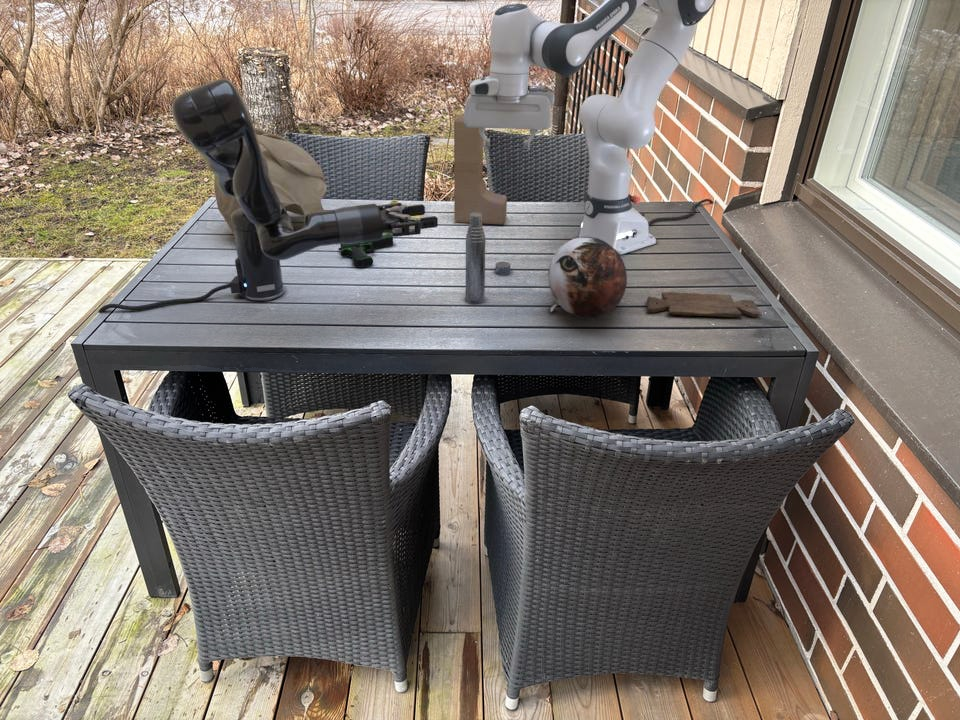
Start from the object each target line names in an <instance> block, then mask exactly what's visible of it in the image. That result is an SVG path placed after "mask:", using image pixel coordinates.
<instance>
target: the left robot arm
mask: <svg viewBox="0 0 960 720" xmlns="http://www.w3.org/2000/svg"><path fill="white" fill-rule="evenodd" d="M171 111H172V116H173V120H174V122H175V125H176V126H177V128H178V130H179V132H180V133H181V135H182V137H183V138H184V139H185V141H187V143H188V144H189V145H190V146H191V147H192V148H193V149H194V150H195V151H196V152H197V153H199V155H200V157H201V159H202V160H203V162H204V163H205V164H206V166H207V167H208V168H209V169H210V171H211V172H212V174H213V175H214V179H215V178H216V180H217V183H218V185H219V187H220V189H221V191H222V192H223V193H224V194H225V195H227V196H232V197H236V199H237V201H238V202H239V204H240V206H241V208H239V209H237V210H235V211H234V212H233V213H232V215H231V222H232V227H233V232H232V233H234V234H233V238H234V245H235V250H236V255H237V257H236V258H235V260H234V264H235V271H236V275H235V276H234V277H233V278H232V280H230V282H229V283H226V284H222V285H220V286H219V285H218V286H216V287H214V288H212V289H210V290H209V291H208V292H207V293H205V294H204V295H201V296H197V297H189V298H174V299H167V300H161V301H156V302H153V303H147V304H142V305H141V304H140V305H126V304H119V303H108V304H105V305H103V306H101V307H100V308H99V309H98V311H97V313H98V314H102V313H104V312H105V311H107V310H109V309H119V310H124V311H141V310H148V309H152V308H157V307H162V306H167V305H172V304H185V303H186V304H188V303H197V302H201V301H205V300H207V299H209V298H210V297H211V296H212V295H214V294H215V293H217V292H220V291H223V290H227V289H230V292H231V294H240V298H242V299H247V300H248V301H251V302H252V301H253V302H266V301H273V300H275V299H277V298H279V297H281V296H283V294H285V286H284V281H283V273H282V267H281V261H286V260H289V259H291V258H292V259H293V258H294V257H297V256H299V255H301V254H304V253H306V252H310V251H311V250H314V249H316V248H319V247H326V246H334V245H340V244H351V243H359V242H367V241H374V240H380V239H381V238H382V236H383V235H384V233H385V232H390V233H391V235H392V236H393V238H397V237H405V236H415V235H421V234H422V230H425V229H432V228H433V229H434V228H437V227H438V226H439V219H438V217H437V216H436V215H432V216H424V215H425V214H426V206H425V205H424V204H423V203H422V204H414V205H413V204H412V205H407V204H402V202H398V203H393V204H391V203H388V204H380V205H377V204H376V203H368V204H367V203H366V204H359V205H351V206H343V207H338V208H335V209H326V210H324V211H317V212H311V213H308V214H307V215H306V216H305V220H304V219H303V226H304V227H301V228H300V229H297V230H294V227H293V223H292V220H291V217H290V215H289V213H288V211H286V209H285V207H284V206H283V205H282V203H281V202H280V200H279V197H278V195H277V193H276V191H275V189H274V187H273V185H272V182H271V180H270V178H269V172H268V165H267V161H266V158H265V156H264V155H263V154H262V151H261V148H260V144H259V141H258V138H257V135H256V132H255V129H254V127H255V126H254V123H253V120H252V117H251V113H250V112H249V109H248V107H247V105H246V102H245V101H244V98H243V97H242V95H241V93H240V91H239V90H238V89H237V87H236V86H235V84H234V83H233V82H232V81H231V80H229V79H228V78H219V79H216V80H213V81H210V82H207V83H204V84H201V85H199V86H196V87H195V88H192V89H189V90H187V91H184V92H182V93H180V94H178V95H177V96H176V97H175V98H174V99H173V100H172V105H171ZM407 206H408V207H407ZM419 215H422V217H421V218H412V217H411V216H419ZM423 216H424V217H423Z"/></svg>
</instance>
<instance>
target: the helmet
mask: <svg viewBox="0 0 960 720" xmlns="http://www.w3.org/2000/svg"><path fill="white" fill-rule="evenodd" d="M254 129H255V132H256V135H257V138H258V141H259V144H260V148H261V151H262V154H263V155H264V156H265V158H266V161H267V165H268V172H269V178H270V180H271V182H272V185H273V187H274V189H275V191H276V193H277V195H278V197H279V200H280V202H281V203H282V205H283V206H284V207H285V209H286V211H287V212H289V213H293V214H295V215H298V216H303V221H304V220H305V216H306V215H307V214H308V213H311V212H317V211H325V209H324V207H323V204H322V199H323V198H324V196H325V195H326V193H327V190H328V185H327V182H326V180H325V175H324V173H323V172H324V171H323V169H322V167H321V166H320V165H319V164H318V163H317V161H316V160H315V159H314V157H313V156H312V155H311V154H310V153H309V152H308V151H306V150H305V149H304V148H302V147H301V146H299V145H298V144H296V143H293V142H291V141H290V140H289V139H287V138H285V137H283V136H281V135H277V134H274V133H270V132H268V131H267V130H264V129H261V128H258V127H255V126H254ZM213 187H214V195H215V200H216V206H217V210H218V211H219V213H220V214H221V216H222V218H223V219H224V220H225V222H226V224H227V226H228V227H229V229H230V230H231V232H232V233H233V227H232V222H231V215H232V213H233V212H234V211H235V210H237V209H239V208H241V206H240V204H239V202H238V201H237V199H236V197H232V196H227V195H225V194H224V193H223V192H222V191H221V189H220V187H219V185H218V183H217V180H216V178H215V177H214V180H213ZM233 235H234V233H233Z"/></svg>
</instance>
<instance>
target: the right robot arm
mask: <svg viewBox="0 0 960 720" xmlns="http://www.w3.org/2000/svg"><path fill="white" fill-rule="evenodd" d="M715 2H716V0H597V3H598V7H596V8H595V9H594V10H593V11H592V12H591V13H590V14H589V15H588V16H586V17H584V19H583V20H581V21H578V22H574V23H563V22H562V23H561V22H555V21H551V20H547V19H546V18H543V17H542V16H540V15H538V14H537V13H535V12H534V11H533V10H531V9H530V7H529V6H528V5H527V4H524V3H514V4H506V5H503V6H500V7H499V8H497V9H496V10H495V11H494V13H493V16H492V19H491V26H490V35H489V36H490V37H489V53H490V57H491V61H490V67H489V71H488V72H489V73H488V74H489V75H488V76H484V77H480V78H477V79H474V80H472V81H471V82H470V84H469V94H468V96H467V98H466V101H465V105H464V109H463V110H464V111H463V114H464V124H465V125H466V127H474V128H479V134H480V135H481V137H482V139H483V148H491V138H490V137H487V136H486V134H485V133H486V129H507V130H508V129H509V130H511V129H512V130H529V136H528V138H527V139H524V140H523V149H526V150H530V149H531V142H532V141H533V139H534V137H535V136H536V131H537V130H541V131H542V130H543V131H547V130H549V129H550V128H552V120H553V119H552V118H553V117H552V107H553V106H554V104H555V97H556V95H555V92H554V90H553V89H552V88H549V86H546V85H542V86H539V85H529V83H530V81H529V80H530V67H531V66H535V67H539V68H540V69H545V70H548V71H552V72H554V73H556V74H558V75H561V76H565V77H566V76H572V75H574V74H576V73H578V72H580V70H581V69H583V68H584V66H585V65H586V64H587V62H588V61H589V59H590V58H591V56H592V55H593V53H594V52H595V51H596V50H597V49H598V48H599V47H600V46H601V45H602V44H603V43H604V42H605V41H607V40H608V39H609V38H610V37H611V36H613V34H614V33H615V32H617V31H618V30H619V29H620V28H621V27H622V26H623V25H624V24H626V22H628V20H629V19H631V17H632V16H633V15H634V13H635V11H636V9H638V8H639V7H641V6H642V5H644V6H646V7H647V8H650V7H651V8H652V9H655V10H656V11H658V12H657V16H656V20H655V22H654V24H652V26H651V27H650V28H649V30H648V31H647V32H646V34H645V35H644V37H643V38H642V40H641V41H640V43H639V45H638V46H637V48H636V50H635V51H634V52H633V54H632V55H631V57H630V59H629V60H628V62H627V64H625V66H624V71H623V73H624V79H625V80H624V84H623V88H622V90H621V92H620V94H619V96H618V97H617V96H614V95H611V94H607V93H604V94H603V93H601V94H600V93H599V94H593V95H590V96H588V97H587V98H586V99H585V100H584V101H583V102H582V103H581V106H580V108H579V111H578V119H579V123H580V125H581V127H582V130H583V132H584V135H585V141H586V146H587V153H588V163H589V164H588V165H589V166H588V167H589V168H588V182H587V191H586V192H585V196H584V216H583V220H582V223H581V225H580V231H579V234H578V237H594V238H598V239H601V240H604V241H605V242H607V243H608V244H610V245H611V246H612V247H613V248H614V249H615V250H616V251H617V252H618V253H619V255H625V254H628V253H631V252H634V251H637V250H640V249H643V248H646V247H650V246H652V245H655V244H656V243H657V239H656V237H655V236H654V235H653V234H651V233H650V232H649V230H650V229H649V228H650V226H651V225H652V224H653V223H655V222H658V221H674V220H681V219H685V218H688V217H691V216H693V215H694V214H695V213H696V208H697V206H699V205H701V204H704V203H706V202H708V203H710V204H714V201H713V200H712V199H710V198H705V199H702V200H700V201H698V202H696V203H695V204H693V206H692V211H691V212H689V213H688V214H687V213H686V214H685V215H679V216H680V217H679V216H672V217H671V216H670V217H669V216H668V217H667V216H666V217H656V218H653V219H650V221H649V222H648V220H647V218H646V217H645V213H643V212H639V211H637V210H636V208H634V207H633V203H634V205H639V203H640V202H641V198H640V197H639V196H637V195H636V194H635V195H631V194H630V192H629V191H630V183H631V175H632V165H631V161H630V160H629V157H628V155H627V152H626V149H627V150H639V149H642V148H644V147H645V146H647V145H648V144H649V143H650V142H651V140H652V139H653V137H654V134H655V132H656V120H655V111H656V107H657V103H658V101H659V98H660V95H661V93H662V92H663V90H664V88H665V86H666V85H667V83H668V82H669V80H670V78H671V77H672V76H673V74H674V72H675V70H676V69H677V67H678V66H679V65H680V64H681V61H682V60H683V58H684V56H685V55H686V53H687V51H688V49H689V47H690V45H691V43H692V40H693V39H694V36H695V34H696V31H697V24H698V23H699V22H701V20H703V19H704V17H705V16H706V15H707V14H708V13H710V11H711V9H712V8H713V6H714V5H715ZM697 203H698V204H697Z"/></svg>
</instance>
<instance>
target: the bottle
mask: <svg viewBox="0 0 960 720" xmlns="http://www.w3.org/2000/svg"><path fill="white" fill-rule="evenodd" d="M483 226H484V225H483V223H482V214H481V213H478V212H474V213H471V214H470V223H469V225H468V229H467V231H466V235H465V302H466V303H469V304H471V305H479V304H482V303H484V302H485V293H486V292H485V289H486V288H485V287H486V286H485V285H486V234H485V230H484V227H483Z"/></svg>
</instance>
